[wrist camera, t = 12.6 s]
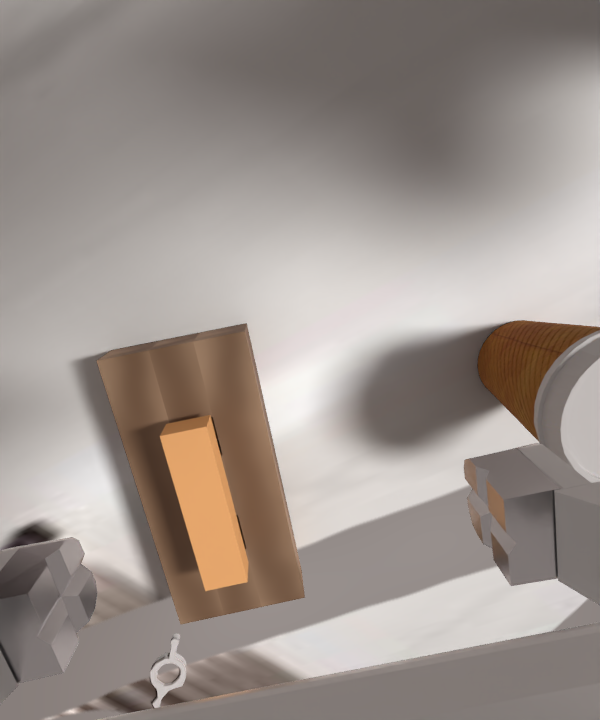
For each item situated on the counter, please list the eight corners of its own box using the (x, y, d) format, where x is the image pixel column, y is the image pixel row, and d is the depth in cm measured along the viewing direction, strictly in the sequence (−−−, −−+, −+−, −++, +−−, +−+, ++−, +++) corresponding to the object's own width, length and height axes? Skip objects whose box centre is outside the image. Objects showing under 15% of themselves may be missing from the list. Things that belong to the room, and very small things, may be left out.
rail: (246, 323, 33) (244, 331, 30) (301, 570, 39) (304, 597, 36) (111, 350, 33) (96, 360, 30) (186, 595, 39) (180, 624, 36)
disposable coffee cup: (584, 392, 37) (732, 461, 25) (473, 432, 37) (570, 520, 25) (561, 280, 34) (715, 300, 22) (443, 325, 34) (534, 367, 23)
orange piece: (216, 395, 34) (206, 426, 28) (250, 529, 37) (247, 581, 32) (177, 403, 34) (159, 436, 28) (214, 537, 37) (205, 591, 32)
